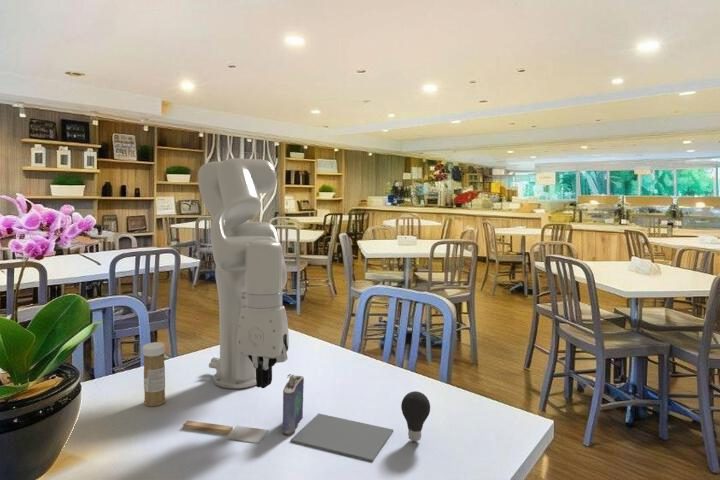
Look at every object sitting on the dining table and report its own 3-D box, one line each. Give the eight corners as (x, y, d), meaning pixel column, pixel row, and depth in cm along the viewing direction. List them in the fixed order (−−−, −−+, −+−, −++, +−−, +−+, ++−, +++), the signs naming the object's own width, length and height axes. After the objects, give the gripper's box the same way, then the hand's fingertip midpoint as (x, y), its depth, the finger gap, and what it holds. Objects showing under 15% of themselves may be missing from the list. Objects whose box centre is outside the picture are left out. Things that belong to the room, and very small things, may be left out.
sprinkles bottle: (145, 399, 110) (144, 342, 109) (166, 397, 112) (165, 340, 110) (142, 408, 106) (141, 348, 105) (165, 406, 107) (163, 347, 106)
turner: (178, 433, 96) (178, 428, 96) (192, 421, 101) (192, 416, 101) (258, 444, 93) (258, 439, 93) (268, 431, 98) (268, 426, 97)
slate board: (290, 441, 94) (290, 439, 94) (318, 415, 105) (318, 413, 105) (372, 461, 87) (372, 459, 87) (393, 431, 99) (393, 429, 98)
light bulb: (421, 452, 91) (423, 401, 90) (395, 443, 94) (396, 394, 93) (433, 439, 96) (435, 391, 95) (407, 431, 99) (409, 384, 98)
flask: (292, 436, 96) (293, 384, 94) (278, 435, 96) (278, 383, 95) (304, 415, 105) (305, 367, 104) (291, 414, 105) (292, 366, 104)
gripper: (222, 300, 99) (223, 386, 101) (286, 307, 94) (285, 398, 96) (244, 293, 106) (244, 373, 108) (304, 300, 101) (303, 384, 103)
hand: (263, 385), depth 102 cm, fingers closed
